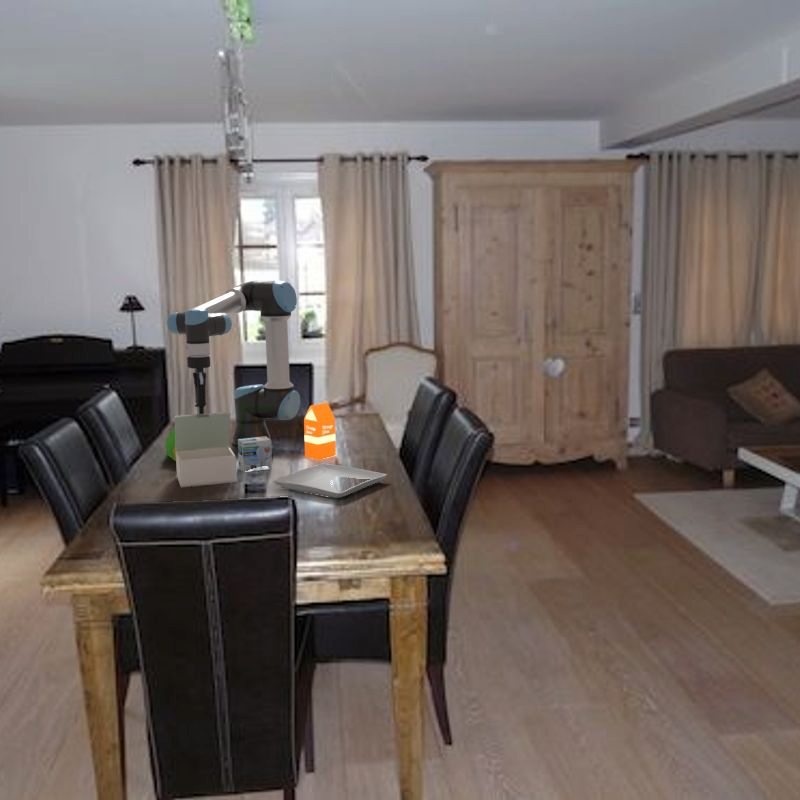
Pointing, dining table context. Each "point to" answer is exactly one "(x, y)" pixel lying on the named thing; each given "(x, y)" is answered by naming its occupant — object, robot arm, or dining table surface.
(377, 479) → the square plate
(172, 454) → the decorative tree
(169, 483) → the dining table surface
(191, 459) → the beige box
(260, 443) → the light bulb box
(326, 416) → the orange juice
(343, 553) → the dining table surface
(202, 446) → the box lid
